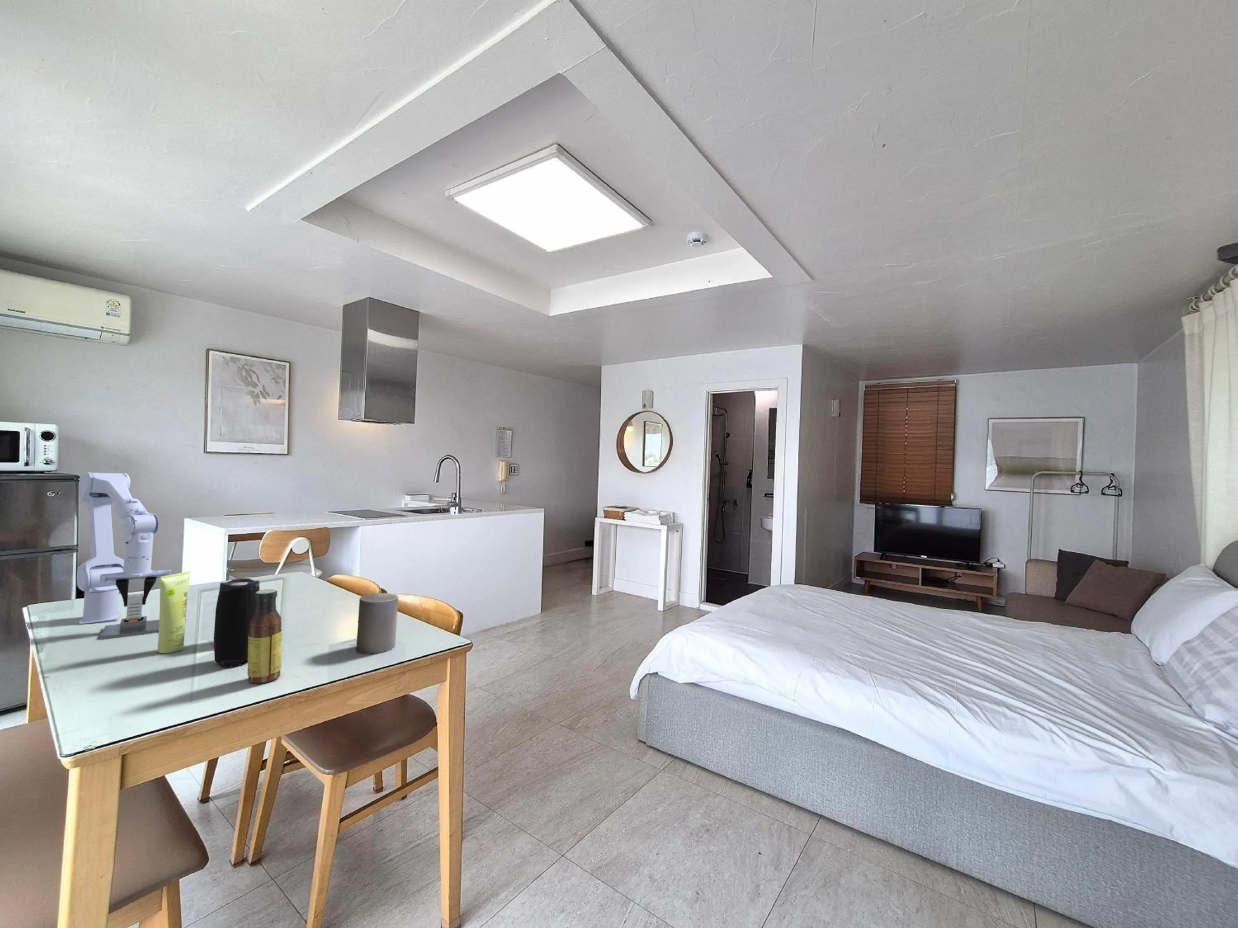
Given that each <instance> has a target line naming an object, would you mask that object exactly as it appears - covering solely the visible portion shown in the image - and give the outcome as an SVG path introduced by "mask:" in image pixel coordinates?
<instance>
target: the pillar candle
mask: <svg viewBox="0 0 1238 928" xmlns="http://www.w3.org/2000/svg"><path fill="white" fill-rule="evenodd" d="M358 601H359V603H358V615H357V617H358V619H357V633H356V635H357V636H356V647H355V649H356V652H358V653H360V654H364V653H370V654H371V653H376V654H381V653H380V652H383V653H385V652H384V651H386V652H389V651H388V650H390V651H391V649H392V648H393V649H394V648H395V646H396V639H397V637H396V636H397V627H398V626H397V623H398V611H399V610H398V606H399V605H398V604H399V595H398V594H395V593H386V592H383V593H382V592H379V591H378V593H369V594H365V595H362V596H360V598H359V600H358ZM393 649H392V650H393ZM370 654H369V655H370Z"/></svg>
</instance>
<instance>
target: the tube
mask: <svg viewBox="0 0 1238 928" xmlns="http://www.w3.org/2000/svg"><path fill="white" fill-rule="evenodd" d="M190 576H191V570H189V571H184V572H179V573H174V574H171V575H168V576H162V577H160V578H159V617H158V618H159V619H158V620H159V632H158V641H157V652H158V653H159V654H170V653H174V652H179V651H181V650H184V647H185V645H184V644H185V634H186V633H185V632H186V620H187V607H188V598H189V597H188V596H189V588H190V587H189V586H190V578H191V577H190Z"/></svg>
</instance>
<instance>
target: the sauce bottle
mask: <svg viewBox="0 0 1238 928" xmlns="http://www.w3.org/2000/svg"><path fill="white" fill-rule="evenodd" d="M277 596H278V590H277V589H273V588H271V589H260V591H257V592H256V593H255V599H256V609H255V614H254V616H253V618H252V619H251V621H250V625H249V633H248V660H247V677H248V682H249V683H251V684H256V685H257V684H266V683H270V682H273V681H275V680H278V679H279V678H280V676H281V669H282V650H283V649H282V647H283V646H282V645H283V644H282V643H283V642H282V641H283V629H282V615H280V613H279V611H278V610H277V606H276V605H277Z"/></svg>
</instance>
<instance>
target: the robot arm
mask: <svg viewBox="0 0 1238 928" xmlns="http://www.w3.org/2000/svg"><path fill="white" fill-rule="evenodd" d="M130 487H131V478H130V476H129V474H128V473H126V472H116V473H115V472H90V471H85V472H84V473H83V474H82V475H81V476H80V478H79V481H78V492H79V500H80V502H83V503H86V506H87V512H88V514H87V515H88V527H89V542H90V543H89V544H90V546H89V547H90V558H88V559H87V560H86V561H83V562H82V563H81V564H80V565H79V566H78V568H77V576H76V585H77V588H78V589H79V590H81V591H82V592H84V594H83V595H84V598H83V609H82V610H83V612H82V617H81V619H80V620H79V622H78V624H79V625H82V624H83V625H84V624H93V623H102V622H103V623H104V622H113V621H118V620H119V618H120V615H121V611H118V608H119V593H120V595H121V598H122V601H123V607H124V608H125V607H126V608H127V601H128V595H129V583H130V581H133V580H143V581H144V582H143V593H142V594H143V599H142V606H145V605H146V603H147V599H148V596H149V594H150V592H151V590H152V589H153V587H154V585H155V584H156V582H157V579H160V577H162V576H168V575H172V569H152V559H153V546H154V534H156V533H157V532H158V530H159V528H160V520H159V517H158V516H157V515H158V514H156V513H152V512H148V511H147V509H146V508H145V506H144V505H143V503H142V502H141V501H140V500H139V499H137V498H135V497H132V495H131V492H130V490H129V489H130ZM113 503H115V506H114V510H115V512H116V514H117V516H118V517H119V519H120V521H122V524H121V531H122V536H123V537H122V539H123V541H124V542H125V543H124V545H125V546H124V557H123V558H120V557H119V556H117V555H115V550H114V534H113V519H112V506H111V505H112V504H113Z"/></svg>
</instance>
